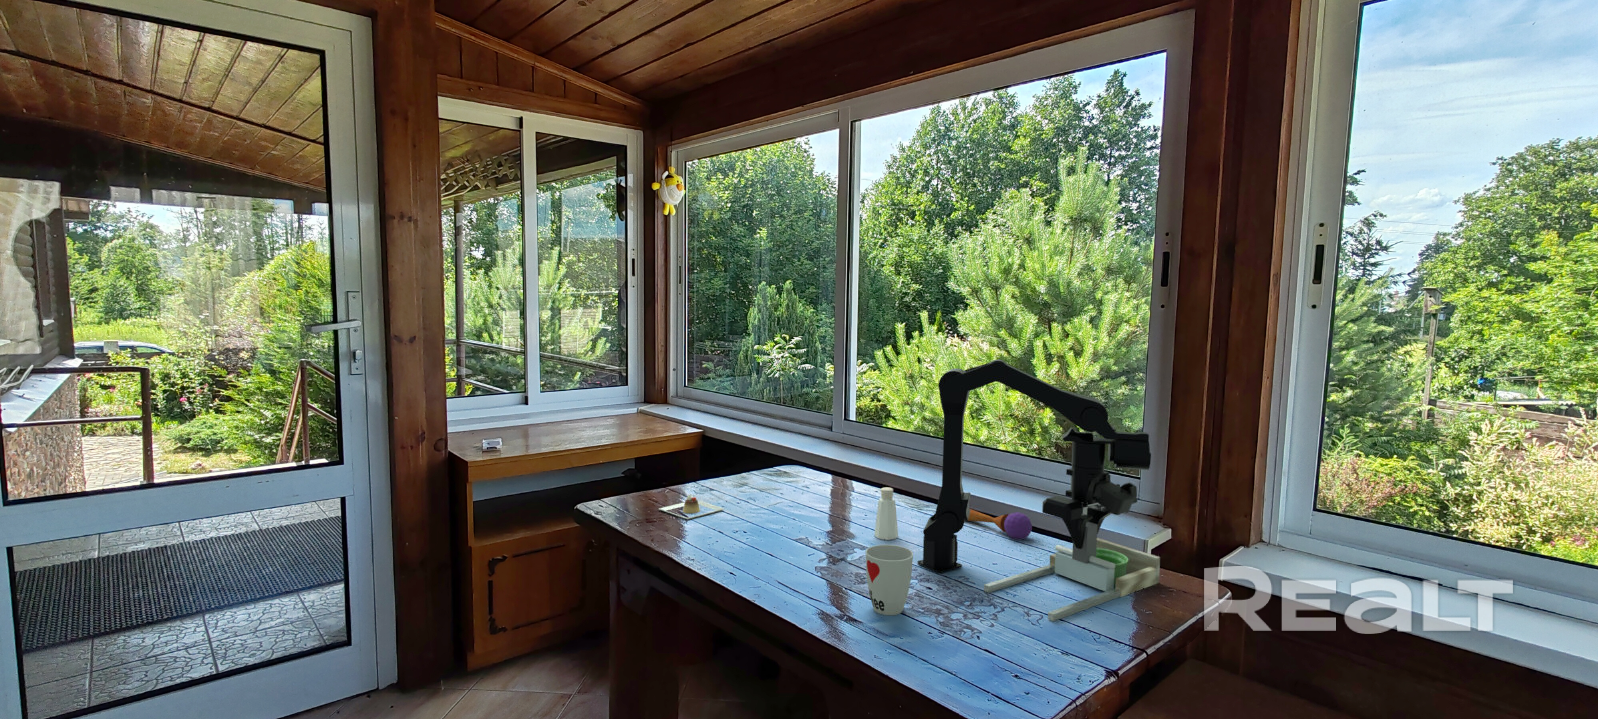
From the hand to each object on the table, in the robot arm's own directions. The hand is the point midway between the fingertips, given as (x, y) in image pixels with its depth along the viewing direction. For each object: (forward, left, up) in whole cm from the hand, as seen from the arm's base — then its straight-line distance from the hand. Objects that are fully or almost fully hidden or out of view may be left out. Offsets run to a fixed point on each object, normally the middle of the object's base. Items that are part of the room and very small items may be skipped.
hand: (1084, 546), depth 135 cm
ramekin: (+6, 0, -7) cm, 9 cm away
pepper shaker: (-14, +41, -7) cm, 44 cm away
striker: (0, 0, -7) cm, 7 cm away
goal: (-3, 0, -7) cm, 8 cm away
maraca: (+11, +31, -8) cm, 34 cm away
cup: (-39, +11, -7) cm, 41 cm away
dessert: (-43, +83, -8) cm, 93 cm away
